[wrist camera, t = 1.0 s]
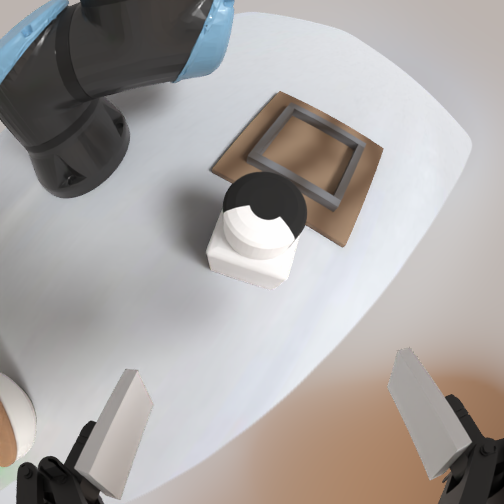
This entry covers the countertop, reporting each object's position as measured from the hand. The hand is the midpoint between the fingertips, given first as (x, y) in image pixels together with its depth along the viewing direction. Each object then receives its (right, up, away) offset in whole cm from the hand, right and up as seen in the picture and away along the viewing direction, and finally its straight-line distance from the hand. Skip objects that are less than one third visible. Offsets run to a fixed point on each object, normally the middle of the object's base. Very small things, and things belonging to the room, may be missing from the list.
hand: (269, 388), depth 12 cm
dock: (+7, +19, +22) cm, 30 cm away
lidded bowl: (-33, -15, +9) cm, 37 cm away
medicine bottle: (-1, +7, +18) cm, 19 cm away
